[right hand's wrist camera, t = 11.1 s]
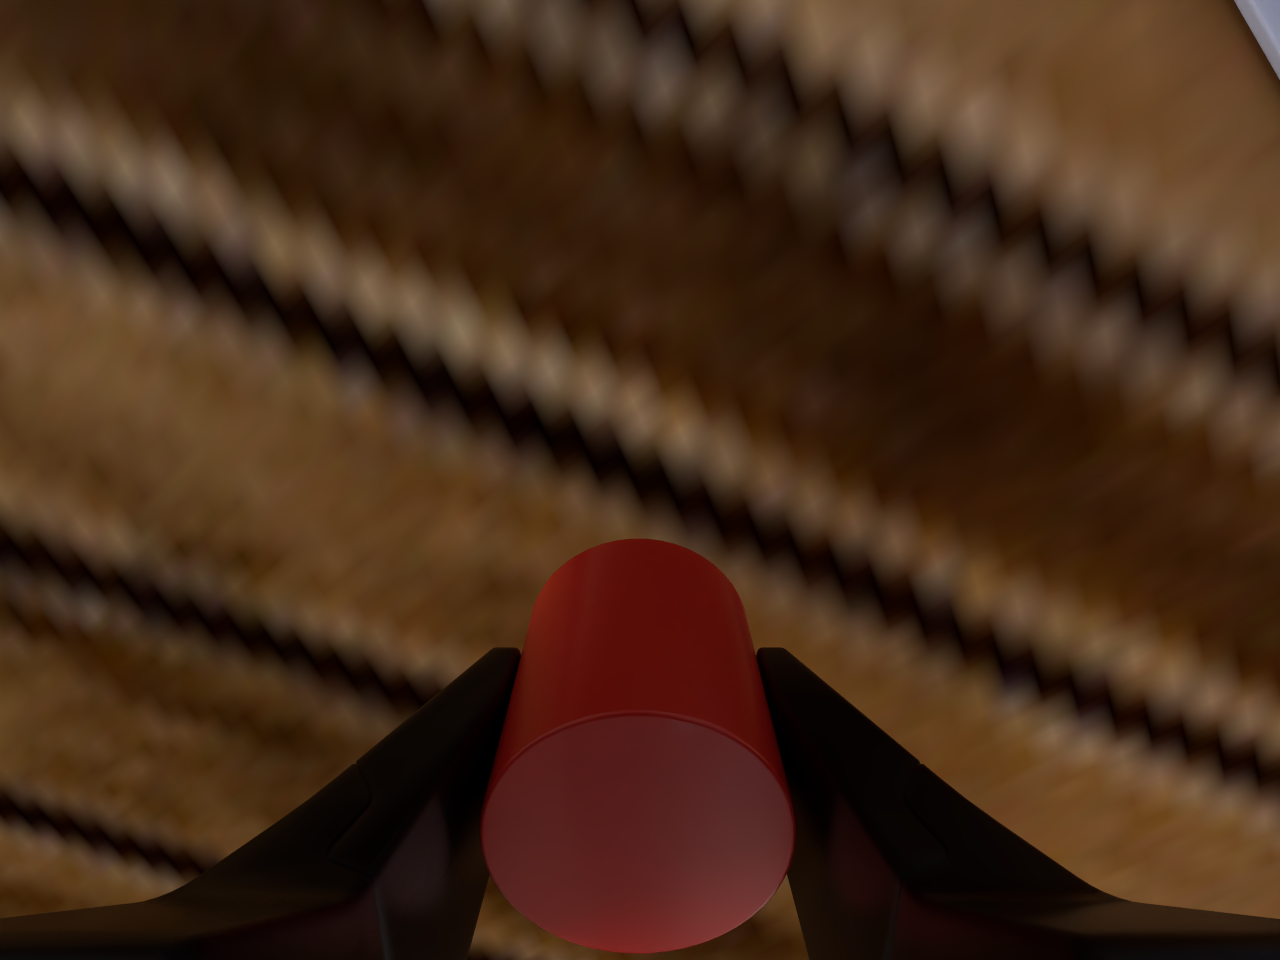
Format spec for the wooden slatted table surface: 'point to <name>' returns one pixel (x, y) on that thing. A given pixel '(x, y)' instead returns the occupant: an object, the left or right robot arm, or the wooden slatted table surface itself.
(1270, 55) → the left robot arm
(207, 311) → the wooden slatted table surface
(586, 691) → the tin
